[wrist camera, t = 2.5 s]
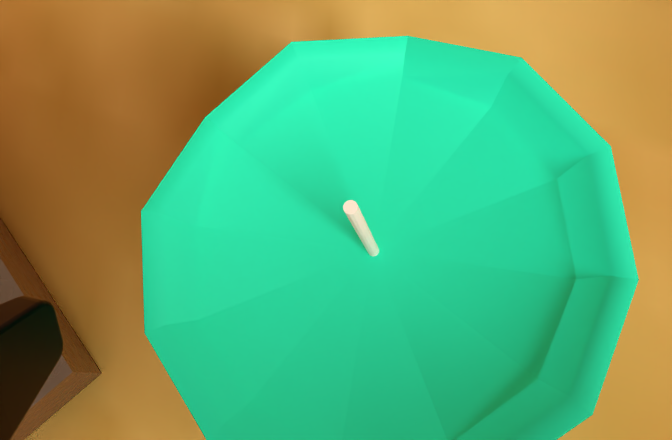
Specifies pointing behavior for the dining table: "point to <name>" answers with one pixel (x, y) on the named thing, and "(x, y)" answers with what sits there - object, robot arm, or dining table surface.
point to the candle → (388, 251)
